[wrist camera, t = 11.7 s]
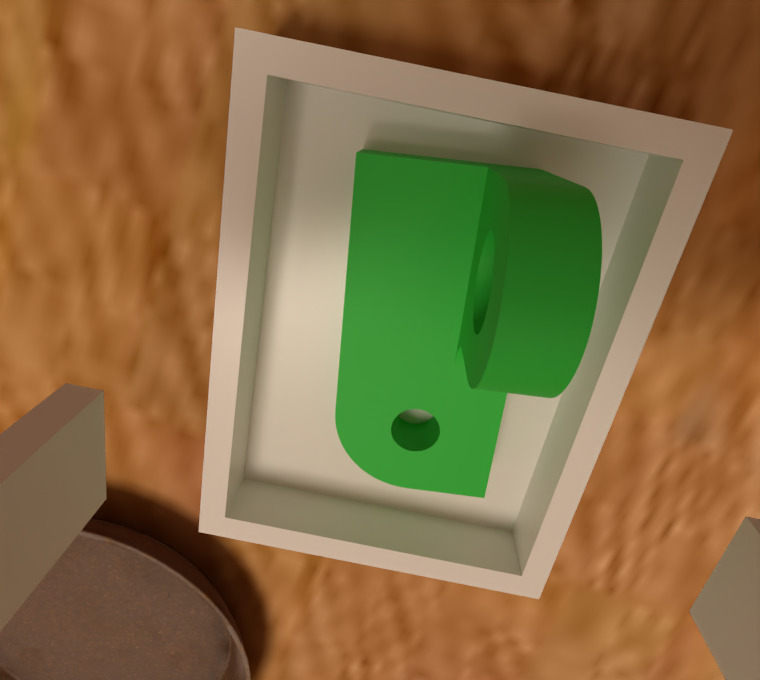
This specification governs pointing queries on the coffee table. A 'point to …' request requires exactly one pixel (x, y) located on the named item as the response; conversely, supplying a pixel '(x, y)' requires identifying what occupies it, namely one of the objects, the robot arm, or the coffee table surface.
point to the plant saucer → (122, 616)
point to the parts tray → (327, 291)
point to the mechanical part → (458, 310)
